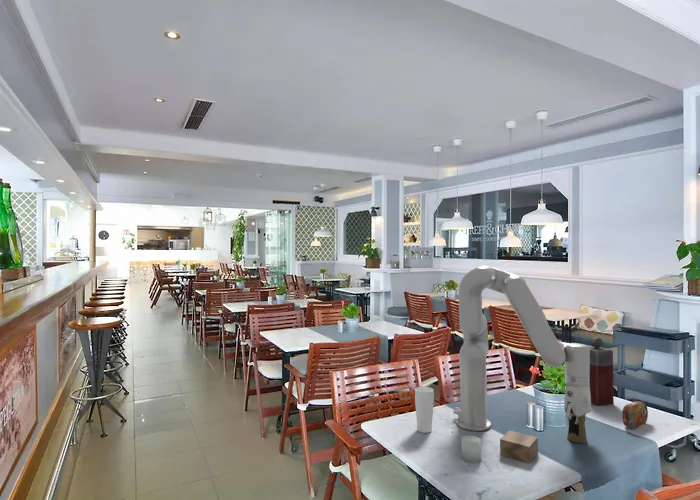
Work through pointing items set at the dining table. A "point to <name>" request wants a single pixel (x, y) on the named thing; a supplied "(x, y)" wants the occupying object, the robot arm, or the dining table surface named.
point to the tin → (635, 414)
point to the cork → (582, 432)
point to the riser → (519, 446)
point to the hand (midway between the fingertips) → (576, 432)
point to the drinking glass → (424, 408)
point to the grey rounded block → (471, 449)
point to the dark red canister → (601, 374)
